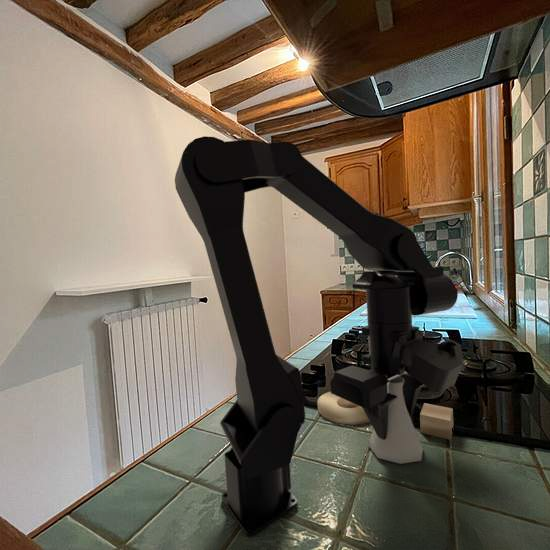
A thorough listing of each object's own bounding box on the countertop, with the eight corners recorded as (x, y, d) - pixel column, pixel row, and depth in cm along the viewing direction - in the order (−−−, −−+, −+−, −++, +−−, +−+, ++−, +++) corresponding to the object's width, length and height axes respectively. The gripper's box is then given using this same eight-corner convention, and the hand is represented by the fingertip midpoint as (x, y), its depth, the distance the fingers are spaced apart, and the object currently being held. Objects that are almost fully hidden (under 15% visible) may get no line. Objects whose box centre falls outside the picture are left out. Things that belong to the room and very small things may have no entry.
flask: (431, 468, 38) (427, 390, 38) (371, 463, 39) (367, 388, 39) (416, 435, 45) (413, 369, 45) (365, 432, 46) (362, 368, 46)
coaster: (351, 432, 47) (351, 425, 47) (305, 407, 56) (304, 401, 56) (393, 409, 53) (393, 403, 53) (345, 389, 62) (345, 384, 62)
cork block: (451, 441, 43) (450, 420, 43) (420, 433, 46) (419, 414, 46) (453, 427, 47) (452, 408, 46) (425, 421, 49) (424, 403, 49)
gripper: (404, 345, 30) (411, 499, 30) (484, 316, 40) (488, 430, 41) (324, 328, 39) (330, 447, 39) (406, 308, 49) (410, 401, 50)
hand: (394, 430), depth 42 cm, fingers closed on flask, 5 cm apart
